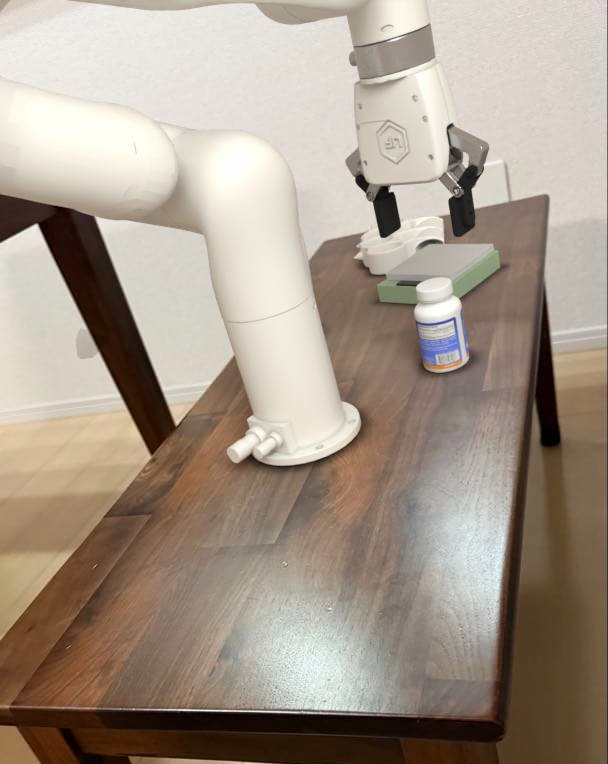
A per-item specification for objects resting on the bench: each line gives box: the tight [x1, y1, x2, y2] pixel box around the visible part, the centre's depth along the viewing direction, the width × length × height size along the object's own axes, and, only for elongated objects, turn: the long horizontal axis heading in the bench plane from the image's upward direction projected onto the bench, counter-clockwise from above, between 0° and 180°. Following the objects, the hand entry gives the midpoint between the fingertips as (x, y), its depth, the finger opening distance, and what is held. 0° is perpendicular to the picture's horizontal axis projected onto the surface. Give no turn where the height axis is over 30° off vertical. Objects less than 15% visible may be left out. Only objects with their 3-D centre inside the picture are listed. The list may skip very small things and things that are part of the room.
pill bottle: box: [413, 277, 470, 374], centre depth 96 cm, size 5×5×10 cm
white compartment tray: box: [352, 215, 446, 276], centre depth 135 cm, size 3×18×15 cm
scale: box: [376, 243, 501, 305], centre depth 119 cm, size 13×12×4 cm
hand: (426, 232), depth 91 cm, fingers open, 9 cm apart
